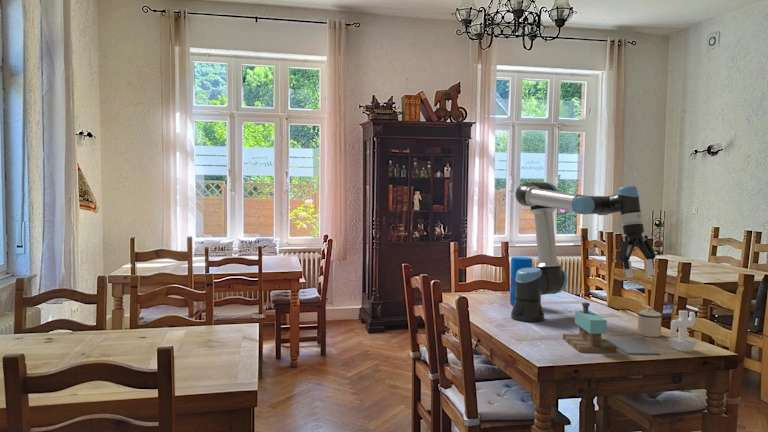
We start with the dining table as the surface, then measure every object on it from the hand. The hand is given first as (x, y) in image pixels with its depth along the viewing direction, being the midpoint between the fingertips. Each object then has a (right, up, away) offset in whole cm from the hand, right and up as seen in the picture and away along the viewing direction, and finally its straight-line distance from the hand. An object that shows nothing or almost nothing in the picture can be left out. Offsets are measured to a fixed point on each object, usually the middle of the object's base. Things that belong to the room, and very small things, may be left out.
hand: (640, 276), depth 214 cm
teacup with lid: (+8, -26, +12) cm, 30 cm away
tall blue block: (-31, -23, +66) cm, 76 cm away
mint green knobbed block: (-24, -19, -8) cm, 31 cm away
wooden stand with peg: (-24, -26, -7) cm, 36 cm away
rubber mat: (-8, -26, -8) cm, 28 cm away
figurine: (+10, -27, -11) cm, 31 cm away
